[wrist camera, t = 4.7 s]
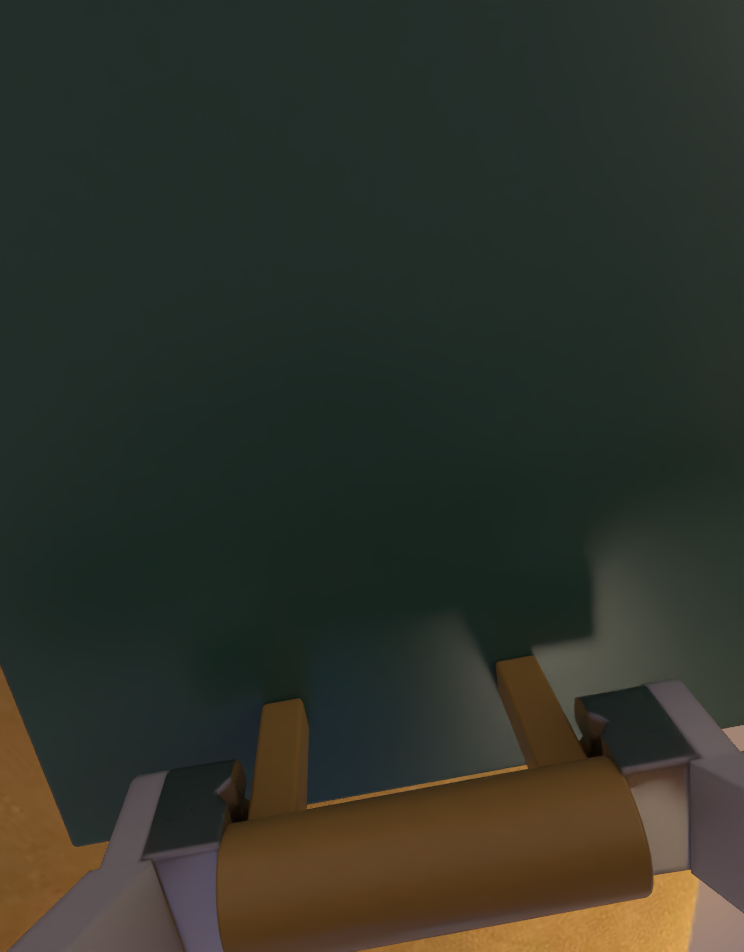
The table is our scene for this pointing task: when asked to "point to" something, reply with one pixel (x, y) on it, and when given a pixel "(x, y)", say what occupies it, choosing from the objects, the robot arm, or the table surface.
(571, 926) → the table surface
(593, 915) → the table surface
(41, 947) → the robot arm
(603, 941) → the table surface
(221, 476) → the lid
